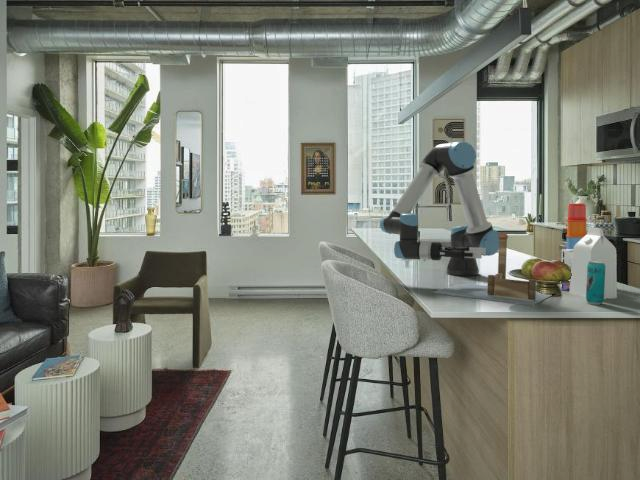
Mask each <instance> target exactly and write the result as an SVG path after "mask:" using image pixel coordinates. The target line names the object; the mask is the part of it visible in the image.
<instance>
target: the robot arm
mask: <svg viewBox="0 0 640 480" xmlns="http://www.w3.org/2000/svg"><path fill="white" fill-rule="evenodd" d="M476 159H477V153H476V150H475V148H474V146H473V145H472V144H470V143H469V142H467V141H459V140H458V141H452V142H443V143H440V144H438V145H437V144H436V146H434V147H433V148H432V149H431V150H430V151H429V152H428V153H427V154H426V155H425V156H424V158H423V159H422V161H421V162H420V163H419V170H418V171H417V173H416V174H415V175H414V177H413V178H412V180H411V182H410V183H409V184H408V186H407V187H406V189H405V190H404V192H403V194H402V195H401V197H400V198H399V200H398V202H397V203H396V205H395V206H394V208H393V209H392V210H391V212H390V213H389V215H388V216H384V217H382V218H381V220H380V222H379V228H380V230H381V231H382V232H383V233H386V234H388V235H391V234H392V235H399V240H398V241H396V242H395V243H394V247H393V254H394V256H395V258H396V259H402V260H422V261H423V262H426V260H428V261H430V260H432V261H441V260H442V257H444V258H449V261H448V264H447V267H446V274H448V275H451V276H459V277H460V276H461V277H462V276H463V277H467V276H469V277H471V276H478V275H479V274H480V273H479V272H480V271H479V270H480V269H479V265H478V261H477V259H482V258H483V257H485V256H487V257H489V256H494V255H495V254H497V252H499V238H498V236H499V234H500V232H499V231H497V230H494V227H493V224H492V223H491V222H490V221H488V220H487V217H486V213H485V210H484V207H483V204H482V200H481V197H480V194H479V190H478V188H477V183H476V181H475V178H474V175H473V171H474V169H475V163H476ZM444 170H446V172H447V176H448V177H449V178H451V179H453V183H454V185H455V189H456V192H457V195H458V199H459V201H460V206H461V208H462V210H463V211H462V212H463V215H464V217H465V220H466V224H467V225H462V226H460V225H459V226H454V227H452V228H451V231H450V232H451V233H450V246H445V247H444V248H443V247H442V245H443V244H442V243H441V242H437V241H434V242H431V241H418V229H419V227H418V226H419V221H418V215H417V214H416V213H412V212H413V210H414V208H415V207H416V205H417V204H418V203H419V201H420V199H421V198H422V196H423V195H424V194H425V192H426V190H427V189H428V187H429V186H430V184H431V183H432V181H433V179H434V178H437V177H438V176H439V175H440V173H441V172H443V171H444ZM482 256H483V257H482Z"/></svg>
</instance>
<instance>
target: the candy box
mask: <svg viewBox="0 0 640 480" xmlns="http://www.w3.org/2000/svg"><path fill="white" fill-rule="evenodd" d="M572 259H573V249H566V248H561V262H563V263H565V264H567V265H568V266H569V267H570V268H571V269H572ZM560 290H561V291H569V290H570V283H562V284H560Z"/></svg>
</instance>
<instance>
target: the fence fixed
mask: <svg viewBox="0 0 640 480" xmlns="http://www.w3.org/2000/svg"><path fill="white" fill-rule="evenodd" d="M495 275H496V274H488V275H487V286H488V292H487V294H488V295H494V280H495V295H499V296H507V297H516V298H524V299H530V300H535V296H536V291H537V279H535V278H528V280H518V279H509V278H508V279H507V278H506V279H500V278H496V279H495Z"/></svg>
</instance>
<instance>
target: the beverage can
mask: <svg viewBox="0 0 640 480" xmlns="http://www.w3.org/2000/svg"><path fill="white" fill-rule="evenodd" d="M588 262H589V263H588V265H587V285H586V298H585V299H586V303H587V304H589V305H596V306H597V305H599V306H600V304H601V305H602V304H603V302H604V300H605V299H604V288H605V267H606V266H605V264H604V263H605V262H603V261H588Z"/></svg>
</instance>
